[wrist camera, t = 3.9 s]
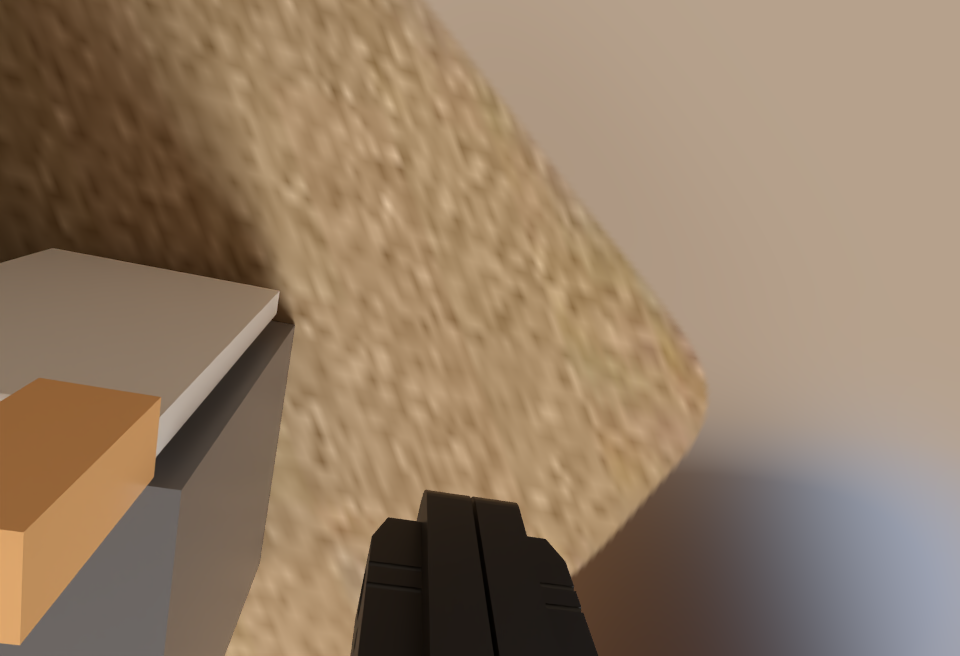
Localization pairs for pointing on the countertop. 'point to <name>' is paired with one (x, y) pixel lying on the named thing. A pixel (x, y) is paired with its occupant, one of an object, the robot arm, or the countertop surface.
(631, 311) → the countertop surface
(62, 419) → the door
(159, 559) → the box
